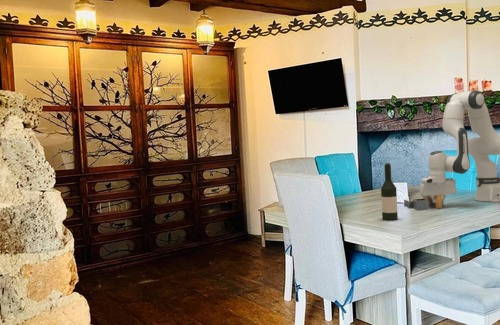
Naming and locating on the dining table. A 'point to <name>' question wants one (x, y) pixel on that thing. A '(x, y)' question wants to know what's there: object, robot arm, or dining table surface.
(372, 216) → the dining table surface
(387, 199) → the wine bottle
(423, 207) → the square tube sleeve
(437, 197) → the round peg
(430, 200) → the crate
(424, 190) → the robot arm
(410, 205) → the bay
